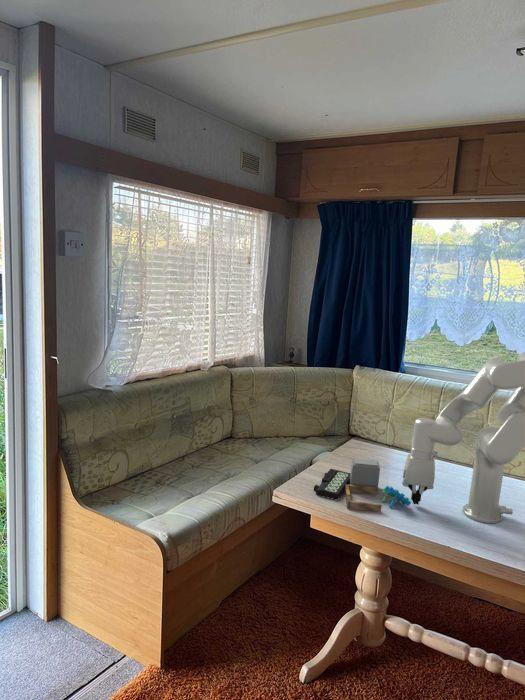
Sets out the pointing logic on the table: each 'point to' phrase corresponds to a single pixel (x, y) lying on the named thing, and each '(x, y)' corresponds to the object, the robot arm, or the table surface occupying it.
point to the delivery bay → (361, 504)
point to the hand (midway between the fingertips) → (415, 502)
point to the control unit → (364, 473)
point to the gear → (395, 496)
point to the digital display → (333, 484)
